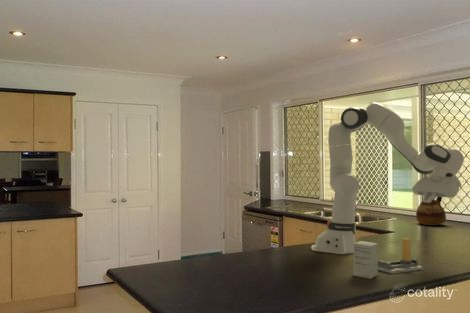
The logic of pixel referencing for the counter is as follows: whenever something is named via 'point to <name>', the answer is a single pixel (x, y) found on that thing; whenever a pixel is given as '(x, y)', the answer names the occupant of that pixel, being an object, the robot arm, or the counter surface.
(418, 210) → the ceramic pitcher
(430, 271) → the counter surface
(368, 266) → the supplement box
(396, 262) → the console
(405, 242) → the orange upright block
